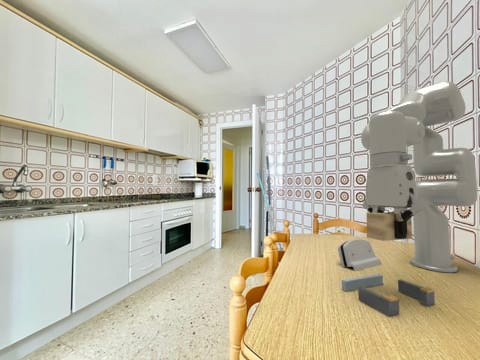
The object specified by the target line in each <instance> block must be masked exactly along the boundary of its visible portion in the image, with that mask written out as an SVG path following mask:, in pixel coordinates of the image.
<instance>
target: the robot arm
mask: <svg viewBox="0 0 480 360" xmlns="http://www.w3.org/2000/svg"><path fill="white" fill-rule="evenodd" d="M466 109H467V108H466V103H465V100H464V97H463V95H462V92H461V90H460V88H459V86H458V85H457V84H455V82H452V81H446V80H445V81H441V82H437V83H435V84H431V85H428V86H424V87H421V88H417V89H415V90H412V91H410V92H409V93H407V94H405V95H404V96H403V97H402V99H401V100H399V103H398V104H397V105H396V106H395V107H393V108H391V109H389V110H387V111H383V112H380V113H377V114H374V115H373V116H372V117H371V118H369V120H368V121H369V122H367V124H366V125H365V127H364V128H363V130H362V133H361V136H360V137H361V139H360V140H361V145H362V146H363V148H364V149H365V150H368V151H369V164H370V166H369V167H370V168H368V170H367V175H366V182H365V183H366V184H365V199H364V202H363V203H362V207H363V208H364V209H365V210H366V211H368V213H385V209H386V208H390V209H391V208H392V209H394V210H393V212H395V215H396V219H397V221H394V230H395V238H397V239H401V238H406V235H407V221H409V220H410V218H411V219H412V221H413V238H414V239H413V241H414V242H413V243H414V257H413V258H410V259H409V262H410V264H411V265H413V266H415V267H417V268H421V269H425V270H430V271H433V272H440V273H456V272H458V267H457V266H456V265H454V264H452V261H453V260H455V259H456V257H455V256H454V255H453V254H451V246H450V245H451V244H450V242H451V241H450V240H451V239H450V227H449V225H450V223H449V218H448V216H447V215H446V214H445V212H443V211H442V210H441V209H440V208H439V207H440V206H441V207H443V206H444V207H446V206H447V207H471V206H474V205H475V204H476V203H477V201H478V185H477V184H478V183H477V170H476V160H475V156H474V153H473V151H472V150H470V149H469V148H466V147H456V148H455V147H454V148H444V139H443V136H442V135H441V134H440V133H438V131H436V130H434V129H432V128H429V127H430V126H431V127H432V126H435V125H436V126H437V125H442V124H446V123H447V124H448V123H452V122H455V121H459V120H460V119H462V118H463V117H464V115H465V113H466ZM411 146H412V147H413V149H412V150H413V151H412V153H413V154H411V153H407V147H411ZM411 160H413V168H412V165H408V161H411ZM415 174H416V175H417V176H420V177H442V176H443V177H445V176H446V177H447V176H454V177H456V178H435V179H433V178H431V179H420V180H419V179H418V180H416V178H415V177H416V176H415ZM438 206H439V207H438ZM401 240H402V239H401Z"/></svg>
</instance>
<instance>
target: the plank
mask: <svg viewBox="0 0 480 360" xmlns="http://www.w3.org/2000/svg"><path fill="white" fill-rule="evenodd" d="M381 285H384V275H382V274H380V273H376V274H370V275H364V276H356V277H351V278H345V279H341V290H342V291H344V292H350V291H355V290H358V287H364V288H366V289H368V288H372V287H377V286H378V287H379V286H381Z"/></svg>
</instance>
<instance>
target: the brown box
mask: <svg viewBox="0 0 480 360" xmlns="http://www.w3.org/2000/svg"><path fill="white" fill-rule="evenodd" d="M394 221H397V219H396V215H395V211H386V212H384V213H370V212H366V238H368V239H372V240H378V241H381V242H387V241H398V240H413V232H412V231H413V227H412V226H413V225H412V217H411V218H410V220H409V221H407V235H406V238H401V239H397V238H395V230H394Z"/></svg>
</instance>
